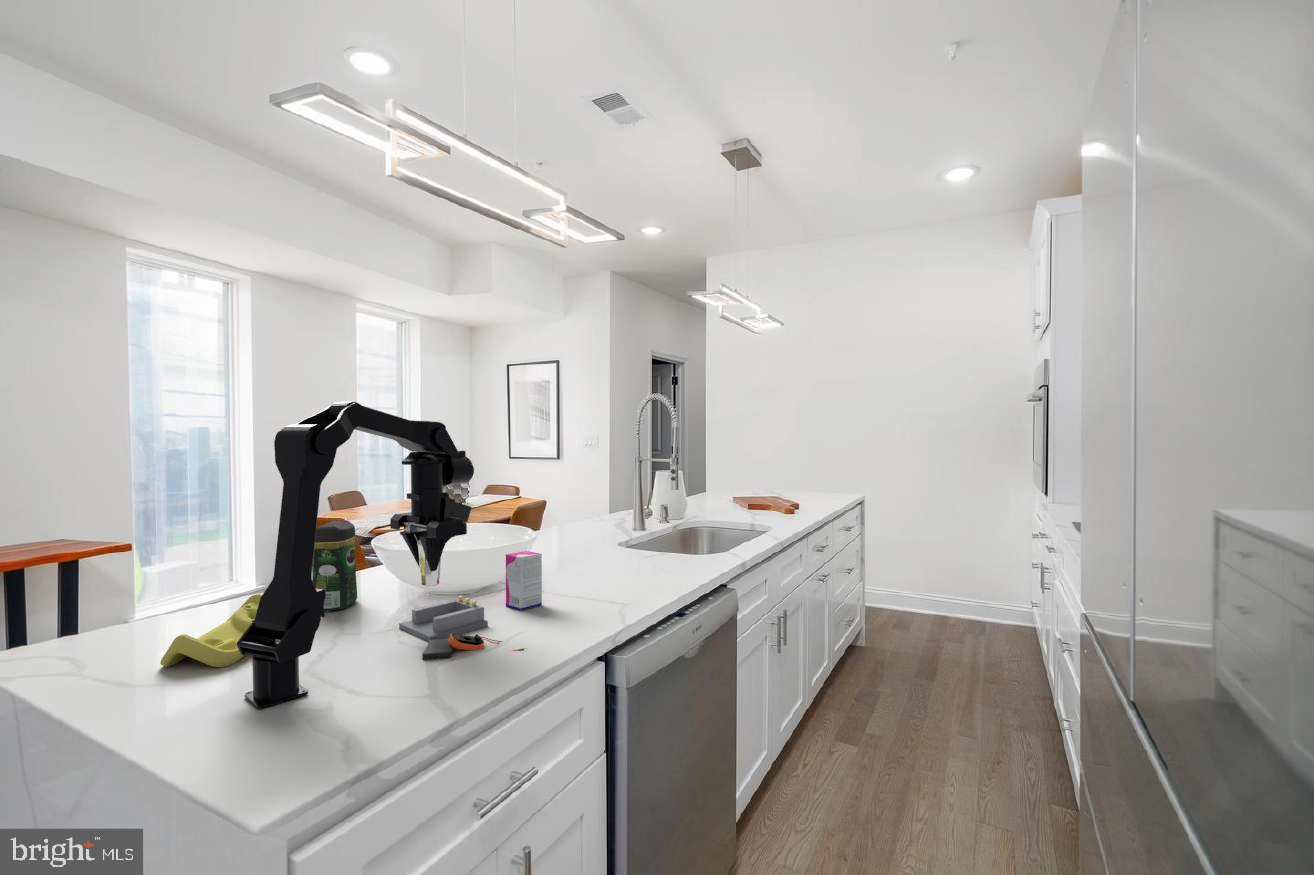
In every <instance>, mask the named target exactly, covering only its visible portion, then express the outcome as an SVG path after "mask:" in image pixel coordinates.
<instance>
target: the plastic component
mask: <svg viewBox="0 0 1314 875" xmlns="http://www.w3.org/2000/svg"><path fill="white" fill-rule="evenodd" d="M262 595H263V594H261V593H255V594H252V595H251V596H250V597H248V598H247V599H246V600H245V602H244V603H243V604H242V605H241V606H240V607H239V608H238V609H237V610H236V611H234V612H233V613H232V615H231V616H230V617H229V618H228V619H227V620H226V621H225V622H223V623H221V624H219V625H218V626H216V627H214V628H213V629H210V630H208V631H207V632H205V633H203V634H201V636H199V637H196V638H195V637H193V636H191V635H189V634H185V633H184V634H179V635H178V636H176V637H175V638H174V639H173V641H172V643H171V644H170V646H168V648H167V650H166V652H165V653H164V655H163V656H162V658H161V660H160V663H159V664H160V665H161V666H163V667H166V668H169V667H172V666H174V665H176V664H178V663H180V662H181V661H183V660H184V659H186V658H191V659H194V660H196V661H198V662H200V663H203V664H205V665H208V666H211V667H212V668H213V667H214V668H224V667H228V666H231V665H233V664H235V663H237V662H238V661H239V660H241V659H242V658H243V657H245V656H246V655H241V654H240V651H239V649H238V647H237V642H238V641H239V639H240V638H241V637H242V635H243V634H244V633H245V631H246V630H247V629H248V628H249V626H250V625H251V624H252V622H253V621H254V620H255V617H256V613H257V609H258V605H259V602H260V598H261V596H262Z"/></svg>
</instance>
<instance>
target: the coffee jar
mask: <svg viewBox="0 0 1314 875" xmlns="http://www.w3.org/2000/svg"><path fill="white" fill-rule="evenodd" d="M355 528H356V526H355V524H354V523H352V522H350V521H349V520H332V521H330V522H327V523H325V524H324V523H323V524H322V525H319V526H316V536H315V546H314V556H313V566H312V581H313V583H314V586H315V588H316V589H324V590H325V593H326V597H325V601H324V613H325V612H333V611H337V610H345V609H346V608H348V607H350V606H351V605H352V604H354V603H355V602H356V601H357V599H358V586H357V568H356V567H357V566H356V529H355Z"/></svg>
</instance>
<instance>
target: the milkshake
mask: <svg viewBox="0 0 1314 875" xmlns="http://www.w3.org/2000/svg"><path fill="white" fill-rule="evenodd" d="M414 536H415V535H414ZM415 539H416V541H417V547H418V556H419V565H420V568H419V574H420V575H419V576H420V585H421V587H435V586H438V585H439V584H440V577H441V563H442V562H441V561H442V557H441V558H440V561H439V564H438V567H437V570H436V571H430V568H429V566H428V563H427V560H426V556H425V553H424V550H423V546H422V544H421V540H419V541H418V540H417V538H416V536H415Z"/></svg>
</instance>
